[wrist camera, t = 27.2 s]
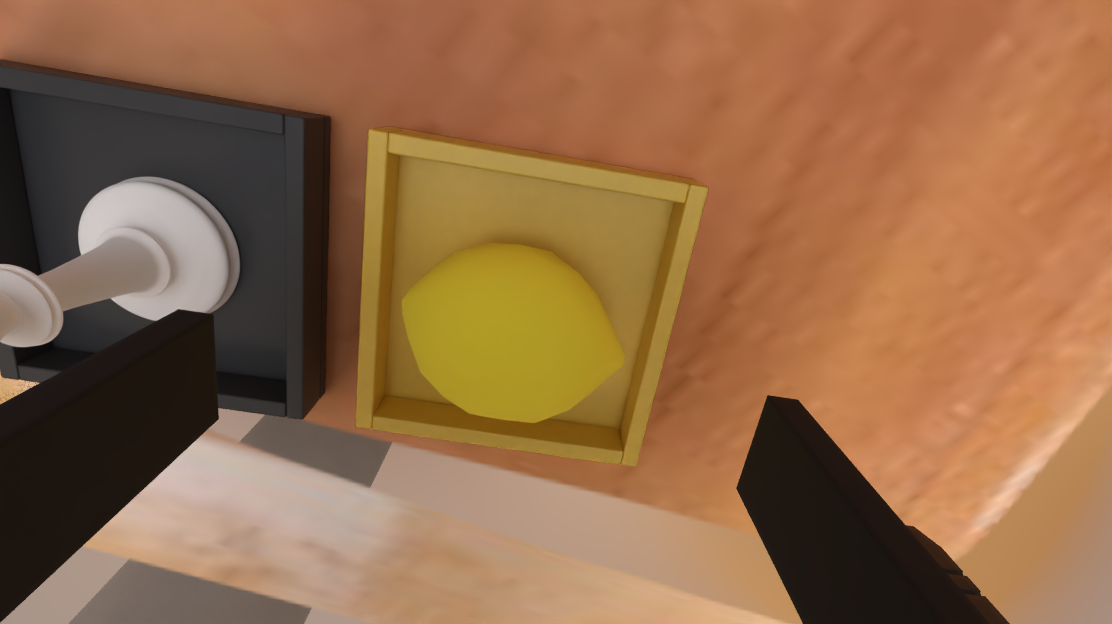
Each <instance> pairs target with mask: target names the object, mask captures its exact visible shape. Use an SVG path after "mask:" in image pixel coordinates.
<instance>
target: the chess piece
mask: <svg viewBox="0 0 1112 624" xmlns="http://www.w3.org/2000/svg"><path fill="white" fill-rule="evenodd" d="M78 242H79V248H80V253H81V256H79V257H77V258H75V259H73V260H71V261H69V262H67V263H65V264H63V265H61V266H59V267H57V268H55V269H53V270H50V271H48V272H46V273H43V274H41V275H39V276H37V275H36V274H34V273H32V272H31V271H29V270H27V269H24V268H22V267H19V266H15V265H9V264H0V342H1V343H4V344H7V345H10V346H15V347H30V346H38V345H43V344H46V343H48V342H50V341H51V340H53V339H54V338H55V337H56V336H57V335H58V334H59V332H60V330H61V328H62V325H63V311H66V310H69V309H72V308H75V307H79V306H83V305H86V304H90V303H94V302H97V301H101V300H105V299H109V298H110V299H112V300H113V301H114V302H115V303H117V304H118V305H120V306H121V307H123V308H124V309H126V310H128V311H130V312H131V313H134V314H136V315H138V316H141V317H143V318H146V319H150V320H154V321H157V320H159V319H161V318H163V317H165V316H167V315H168V314H170V313H172V312H174V311H176V310H178V309H181V310H188V311H195V312H202V313H211V312H213V311H215V310H217V309H218V308H220V307H221V306H222V305H223V304H224V303H225V302H226V301H227V300H228V299H229V298H230V296H231V295H232V293H233V292H234V290H235V288H236V285H237V282H238V279H239V274H240V256H239V250H238V246H237V243H236V240H235V237H234V235H233V233H232V231H231V229H230V227H229V225H228V224H227V222H226V220H225V219H224V218H223V216H222V215H221V214H220V213H219V211H218V210H217V209H216V208H215V207H214V206H213V205H212V204H211V203H210V202H209V201H208V200H206V199H205V198H204V197H203V196H201V195H200V194H198V193H197V192H195V191H194V190H192V189H190V188H189V187H187V186H185V185H182V184H180V183H178V182H175V181H172V180H168V179H164V178H159V177H135V178H131V179H127V180H124V181H121V182H119V183H117V184H114V185H112V186H109V187H107V188H105V189H103V190H102V191H100V192H99V193H98V194H96V195H95V196H94V197H93V198H92V199H91V200H90V202H89V203H88V204H87V206H86V207H85V209H84V211H83V213H82V216H81V219H80V223H79V229H78Z"/></svg>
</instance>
